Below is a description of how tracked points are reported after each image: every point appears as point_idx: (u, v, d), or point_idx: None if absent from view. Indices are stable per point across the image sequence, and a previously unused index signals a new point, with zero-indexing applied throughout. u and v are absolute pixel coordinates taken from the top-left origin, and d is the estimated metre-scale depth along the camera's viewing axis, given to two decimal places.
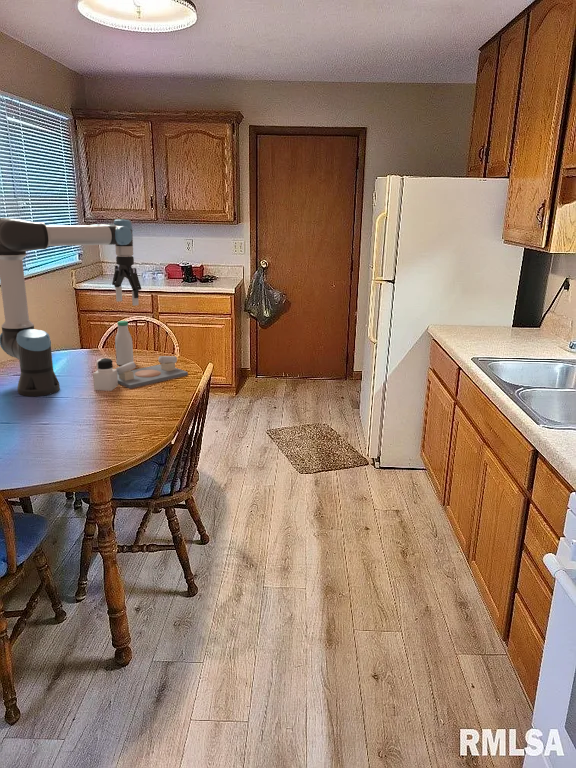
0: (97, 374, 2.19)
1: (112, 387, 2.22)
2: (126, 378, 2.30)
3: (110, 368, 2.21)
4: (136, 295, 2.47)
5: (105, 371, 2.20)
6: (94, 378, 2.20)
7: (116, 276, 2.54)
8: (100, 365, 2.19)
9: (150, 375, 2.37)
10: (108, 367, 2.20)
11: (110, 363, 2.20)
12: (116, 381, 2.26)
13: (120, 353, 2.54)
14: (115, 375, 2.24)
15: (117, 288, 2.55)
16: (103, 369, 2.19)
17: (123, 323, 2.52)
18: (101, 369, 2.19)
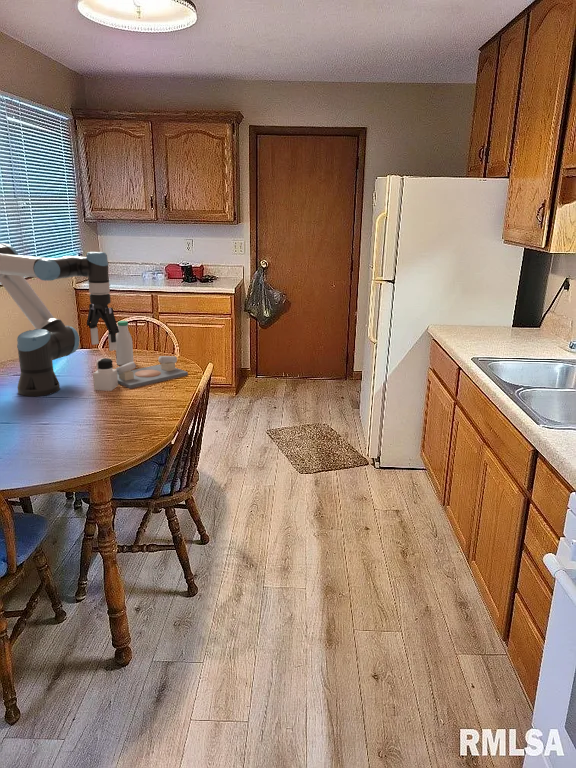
0: (97, 374, 2.19)
1: (112, 387, 2.22)
2: (126, 378, 2.30)
3: (110, 368, 2.21)
4: (113, 339, 2.12)
5: (105, 371, 2.20)
6: (94, 378, 2.20)
7: (91, 316, 2.20)
8: (100, 365, 2.19)
9: (150, 375, 2.37)
10: (108, 367, 2.20)
11: (110, 363, 2.20)
12: (116, 381, 2.26)
13: (120, 353, 2.54)
14: (115, 375, 2.24)
15: (92, 329, 2.21)
16: (103, 369, 2.19)
17: (123, 323, 2.52)
18: (101, 369, 2.19)
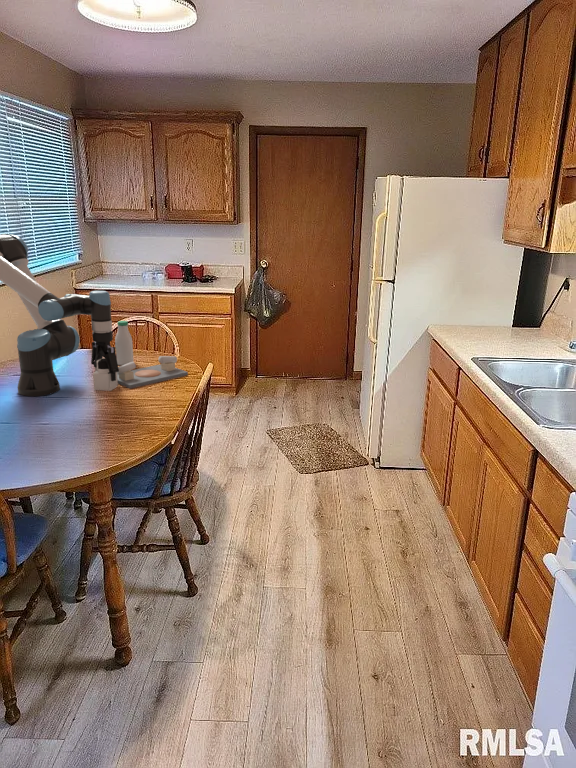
0: (97, 374, 2.19)
1: None
2: (126, 378, 2.30)
3: None
4: (113, 378, 2.18)
5: (105, 371, 2.20)
6: (94, 378, 2.20)
7: (94, 354, 2.24)
8: (100, 365, 2.19)
9: (150, 375, 2.37)
10: None
11: None
12: (116, 381, 2.26)
13: (120, 353, 2.54)
14: None
15: None
16: (103, 369, 2.19)
17: (123, 323, 2.52)
18: (101, 369, 2.19)
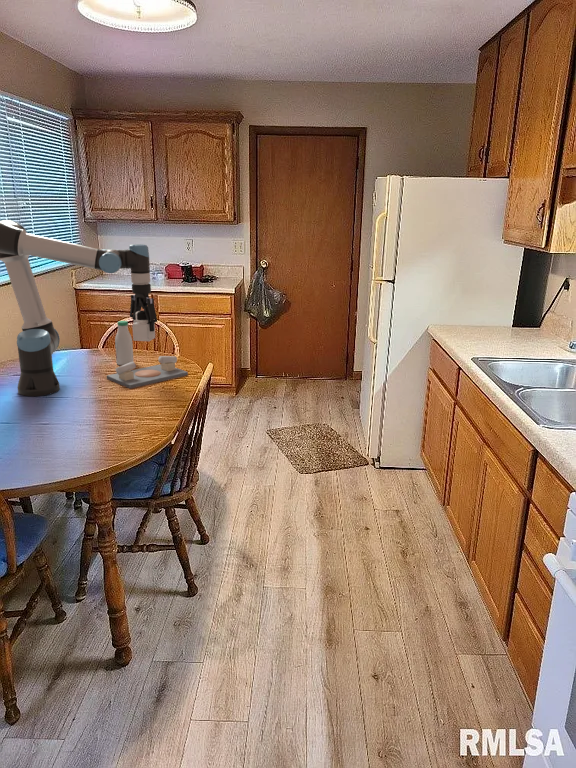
0: (136, 325, 2.29)
1: None
2: (126, 378, 2.30)
3: None
4: (152, 328, 2.28)
5: (144, 322, 2.29)
6: (133, 329, 2.30)
7: (133, 307, 2.34)
8: (139, 317, 2.28)
9: (150, 375, 2.37)
10: None
11: None
12: (154, 333, 2.35)
13: (120, 353, 2.54)
14: None
15: (135, 321, 2.35)
16: (142, 320, 2.29)
17: (123, 323, 2.52)
18: (140, 320, 2.29)
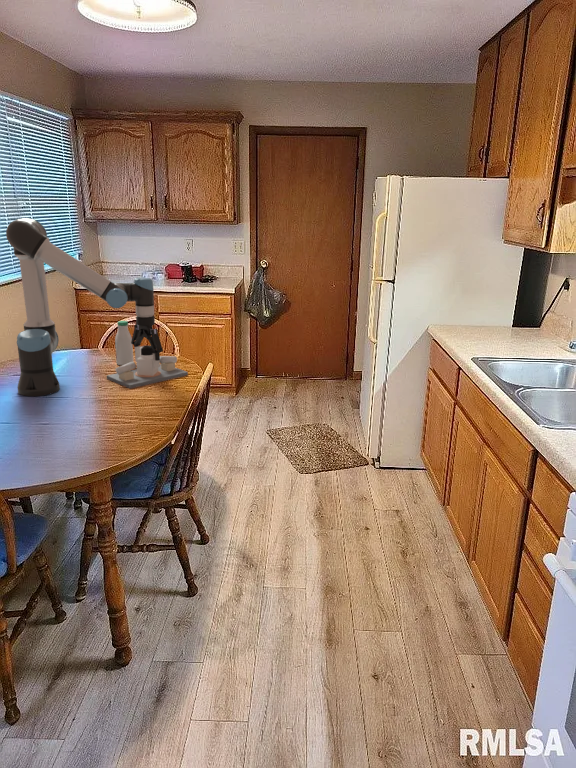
0: (140, 360, 2.35)
1: (154, 372, 2.37)
2: (126, 378, 2.30)
3: (152, 354, 2.36)
4: (157, 357, 2.32)
5: (148, 357, 2.35)
6: (137, 364, 2.35)
7: (135, 335, 2.40)
8: (143, 352, 2.34)
9: None
10: (150, 353, 2.35)
11: (152, 350, 2.36)
12: None
13: (120, 353, 2.54)
14: None
15: (136, 348, 2.41)
16: (146, 355, 2.35)
17: (123, 323, 2.52)
18: (144, 356, 2.35)
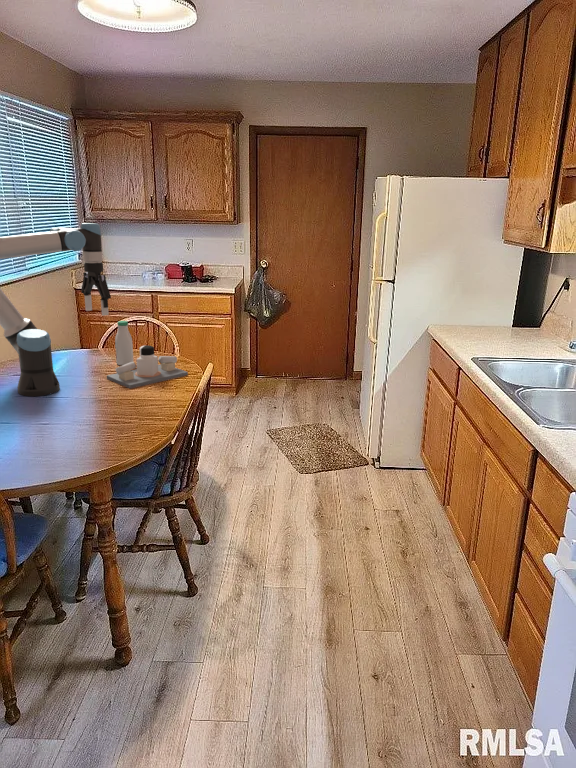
0: (140, 360, 2.35)
1: (154, 372, 2.37)
2: (126, 378, 2.30)
3: (152, 354, 2.36)
4: (105, 304, 2.29)
5: (148, 357, 2.35)
6: (137, 364, 2.35)
7: (85, 284, 2.36)
8: (143, 352, 2.34)
9: None
10: (150, 353, 2.35)
11: (152, 350, 2.36)
12: (157, 367, 2.41)
13: (120, 353, 2.54)
14: (156, 361, 2.40)
15: (86, 296, 2.37)
16: (146, 355, 2.35)
17: (123, 323, 2.52)
18: (144, 356, 2.35)
